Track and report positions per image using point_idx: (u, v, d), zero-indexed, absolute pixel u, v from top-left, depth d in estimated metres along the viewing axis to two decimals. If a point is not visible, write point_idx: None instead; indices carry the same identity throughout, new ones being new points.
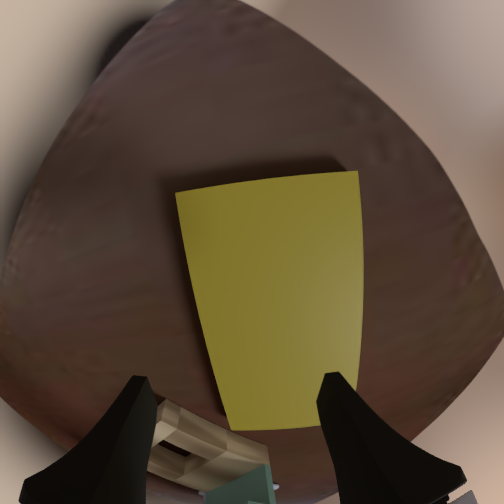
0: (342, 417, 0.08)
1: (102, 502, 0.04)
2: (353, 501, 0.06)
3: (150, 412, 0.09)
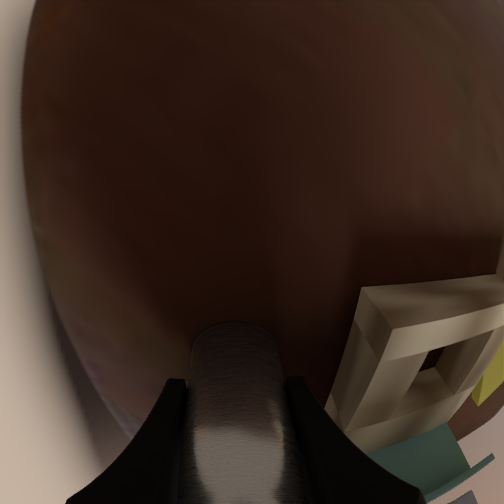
0: (300, 424, 0.08)
1: None
2: None
3: None
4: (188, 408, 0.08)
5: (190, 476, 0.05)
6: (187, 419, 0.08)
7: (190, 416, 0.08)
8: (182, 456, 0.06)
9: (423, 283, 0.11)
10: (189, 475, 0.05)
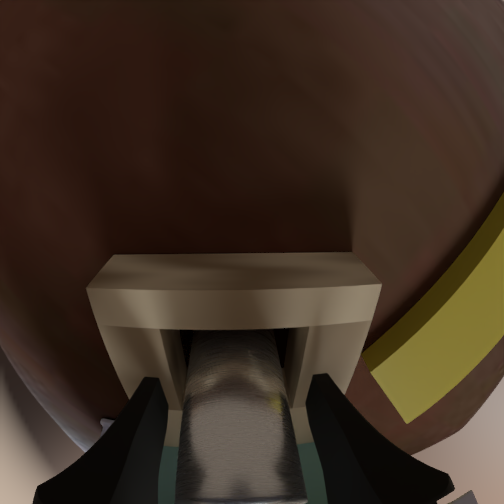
0: (329, 419, 0.08)
1: None
2: None
3: (162, 413, 0.09)
4: (190, 375, 0.09)
5: (190, 434, 0.07)
6: (189, 385, 0.09)
7: (191, 382, 0.09)
8: (183, 418, 0.08)
9: (188, 254, 0.12)
10: (189, 433, 0.07)
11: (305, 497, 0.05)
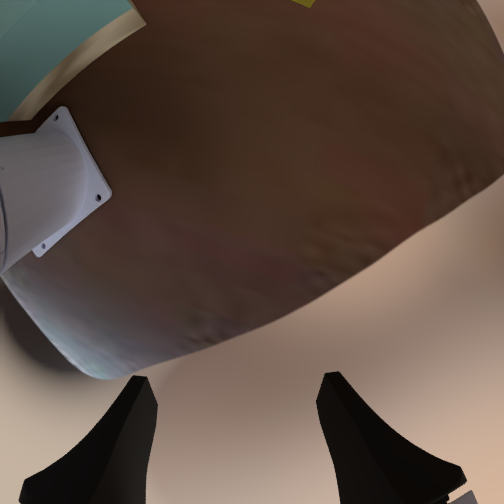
0: (342, 417, 0.08)
1: (102, 502, 0.04)
2: (353, 501, 0.06)
3: (150, 412, 0.09)
4: None
5: None
6: None
7: None
8: None
9: None
10: None
11: None
